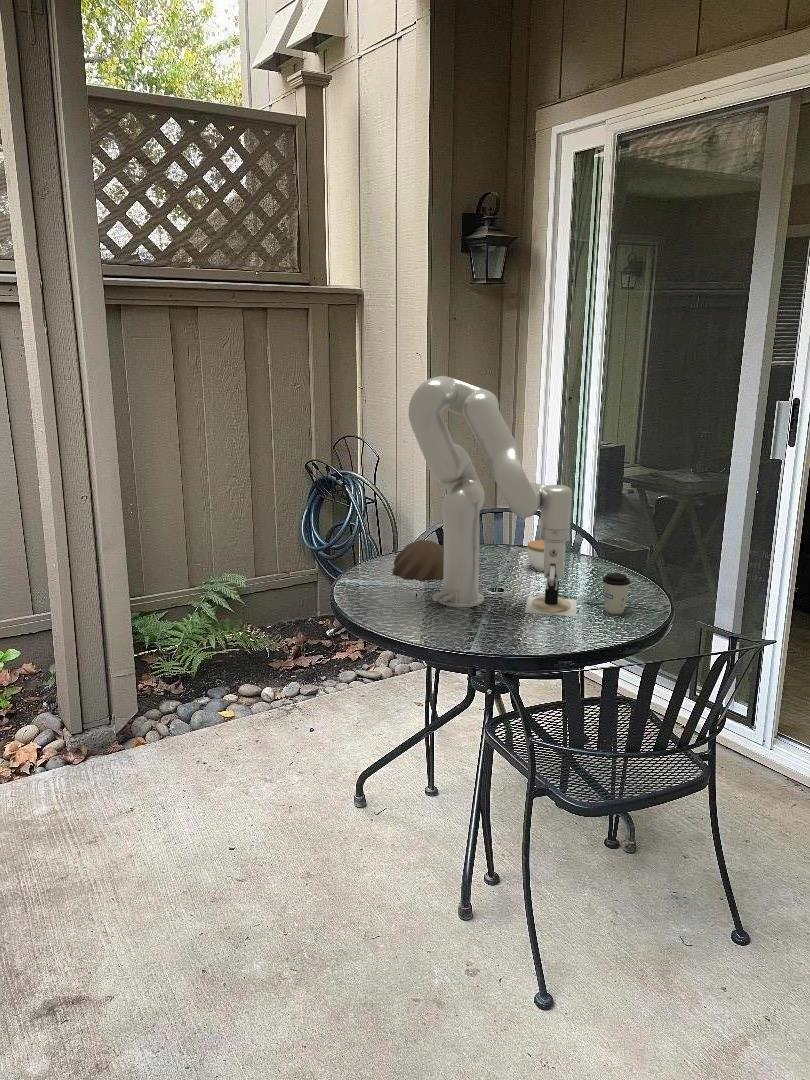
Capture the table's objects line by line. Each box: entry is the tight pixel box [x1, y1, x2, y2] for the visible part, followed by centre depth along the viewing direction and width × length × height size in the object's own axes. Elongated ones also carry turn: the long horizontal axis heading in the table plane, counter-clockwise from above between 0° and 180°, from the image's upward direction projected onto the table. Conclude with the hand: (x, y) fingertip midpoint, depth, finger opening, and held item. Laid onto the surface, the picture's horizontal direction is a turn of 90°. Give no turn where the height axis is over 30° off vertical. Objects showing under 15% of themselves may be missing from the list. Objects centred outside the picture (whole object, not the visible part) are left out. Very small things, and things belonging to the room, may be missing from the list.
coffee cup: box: [602, 572, 631, 615], centre depth 201 cm, size 7×7×10 cm
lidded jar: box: [527, 539, 544, 572], centre depth 239 cm, size 11×11×9 cm
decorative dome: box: [392, 539, 444, 582], centre depth 236 cm, size 19×20×10 cm
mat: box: [524, 596, 578, 617], centre depth 205 cm, size 13×13×1 cm
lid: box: [532, 584, 571, 612], centre depth 205 cm, size 10×10×6 cm
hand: (551, 598), depth 205 cm, fingers open, 6 cm apart
